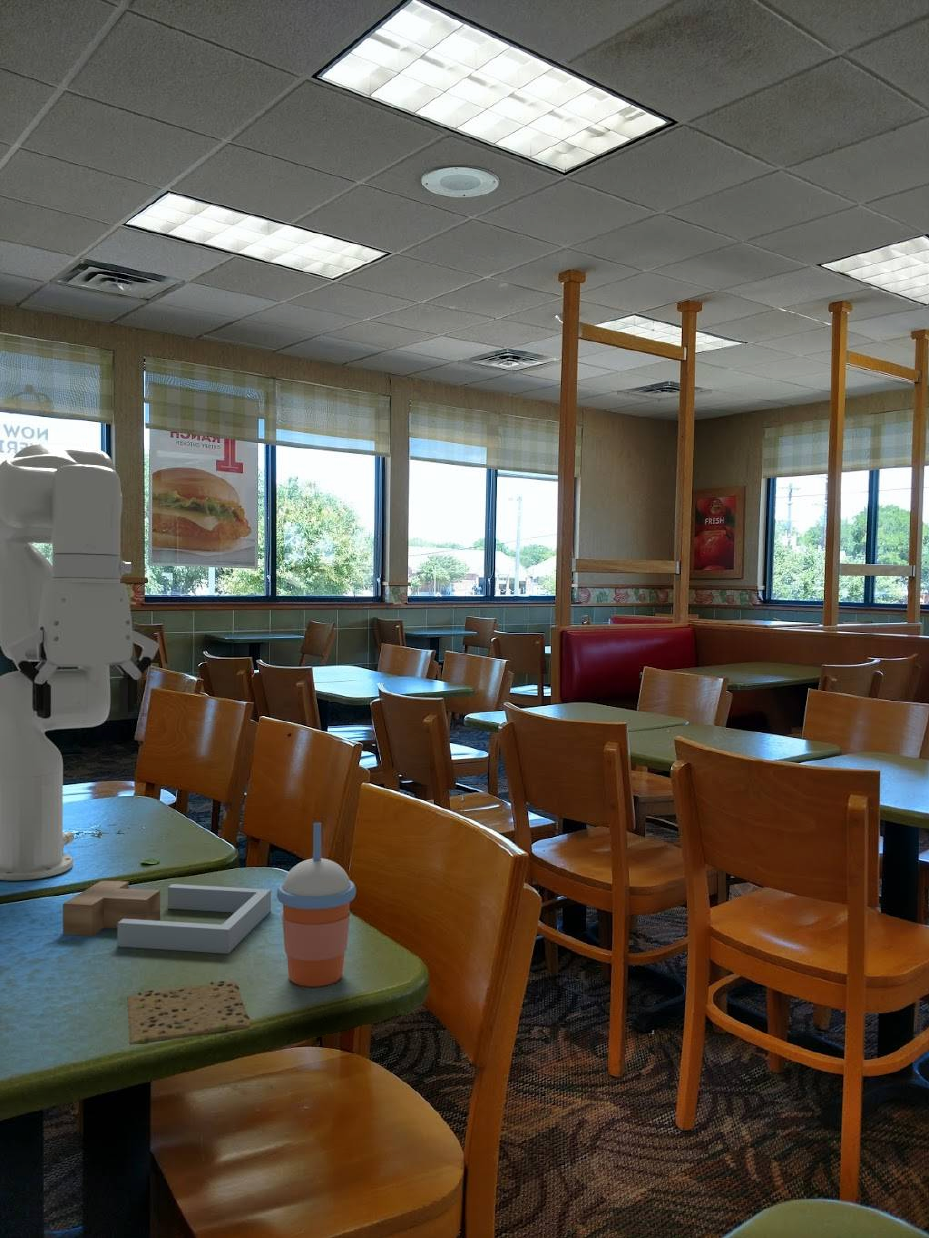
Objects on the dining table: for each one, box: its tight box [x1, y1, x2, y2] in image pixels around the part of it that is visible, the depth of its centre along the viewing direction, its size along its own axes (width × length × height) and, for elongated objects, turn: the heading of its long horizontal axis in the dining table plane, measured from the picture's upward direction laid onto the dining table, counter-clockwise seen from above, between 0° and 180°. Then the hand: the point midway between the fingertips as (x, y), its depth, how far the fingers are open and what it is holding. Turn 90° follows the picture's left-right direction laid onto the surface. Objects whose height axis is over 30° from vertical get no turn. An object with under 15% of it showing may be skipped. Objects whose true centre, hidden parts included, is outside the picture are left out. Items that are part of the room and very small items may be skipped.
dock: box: [116, 883, 272, 955], centre depth 127 cm, size 16×14×3 cm
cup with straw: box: [276, 822, 357, 988], centre depth 111 cm, size 9×9×18 cm
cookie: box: [127, 980, 251, 1045], centre depth 102 cm, size 12×12×1 cm
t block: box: [62, 880, 161, 937], centre depth 128 cm, size 10×10×4 cm
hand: (86, 714), depth 114 cm, fingers open, 9 cm apart
